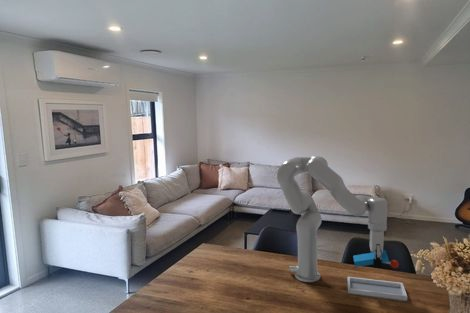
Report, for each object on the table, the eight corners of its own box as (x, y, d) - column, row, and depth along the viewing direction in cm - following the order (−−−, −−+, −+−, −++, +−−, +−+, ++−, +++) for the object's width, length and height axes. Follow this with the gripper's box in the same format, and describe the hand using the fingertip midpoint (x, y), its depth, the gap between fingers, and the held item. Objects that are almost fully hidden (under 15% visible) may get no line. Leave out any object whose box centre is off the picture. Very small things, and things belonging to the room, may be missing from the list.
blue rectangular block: (358, 276, 149) (401, 270, 143) (354, 261, 149) (396, 255, 143) (357, 269, 155) (398, 263, 150) (353, 255, 155) (393, 248, 150)
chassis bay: (348, 294, 149) (348, 289, 149) (347, 281, 160) (347, 276, 160) (407, 301, 142) (407, 296, 141) (402, 287, 153) (402, 282, 153)
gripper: (366, 218, 156) (366, 254, 159) (369, 231, 140) (369, 271, 142) (384, 219, 154) (383, 256, 156) (389, 232, 138) (388, 273, 140)
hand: (376, 263), depth 149 cm, fingers closed on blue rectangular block, 7 cm apart
